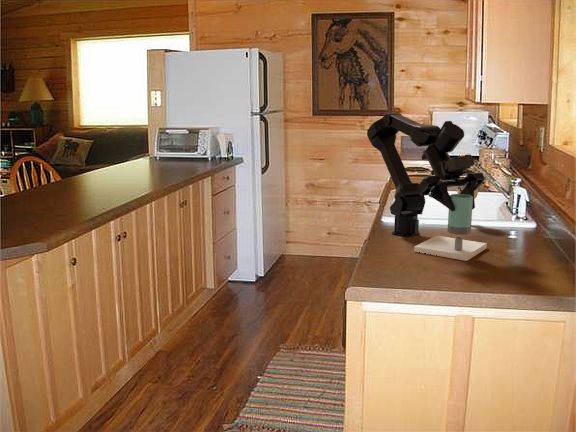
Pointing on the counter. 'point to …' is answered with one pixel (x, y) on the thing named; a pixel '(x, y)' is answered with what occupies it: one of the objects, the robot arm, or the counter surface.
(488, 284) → the counter surface
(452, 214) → the teal faceted cylinder
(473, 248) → the pin board
